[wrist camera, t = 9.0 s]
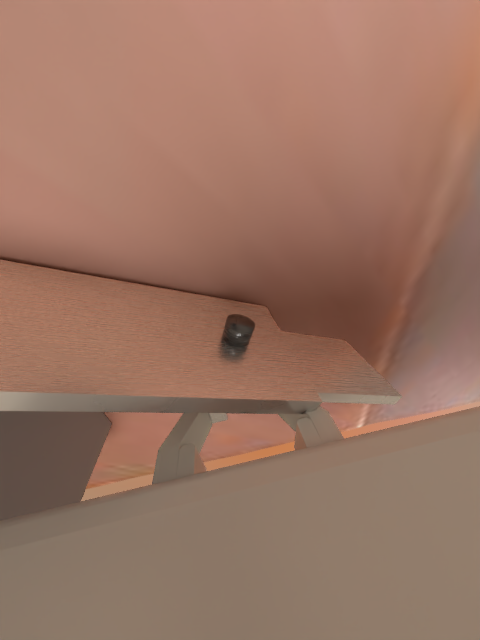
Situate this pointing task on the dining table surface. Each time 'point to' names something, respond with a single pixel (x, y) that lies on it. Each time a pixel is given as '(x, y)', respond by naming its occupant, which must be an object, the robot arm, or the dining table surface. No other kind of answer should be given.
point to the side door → (162, 352)
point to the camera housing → (47, 458)
